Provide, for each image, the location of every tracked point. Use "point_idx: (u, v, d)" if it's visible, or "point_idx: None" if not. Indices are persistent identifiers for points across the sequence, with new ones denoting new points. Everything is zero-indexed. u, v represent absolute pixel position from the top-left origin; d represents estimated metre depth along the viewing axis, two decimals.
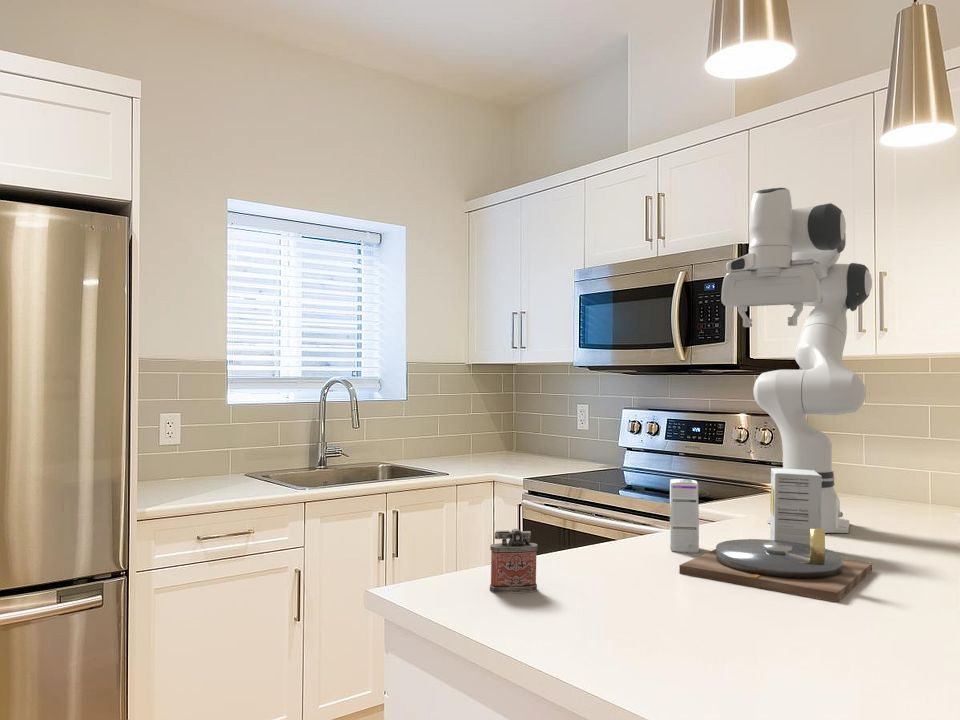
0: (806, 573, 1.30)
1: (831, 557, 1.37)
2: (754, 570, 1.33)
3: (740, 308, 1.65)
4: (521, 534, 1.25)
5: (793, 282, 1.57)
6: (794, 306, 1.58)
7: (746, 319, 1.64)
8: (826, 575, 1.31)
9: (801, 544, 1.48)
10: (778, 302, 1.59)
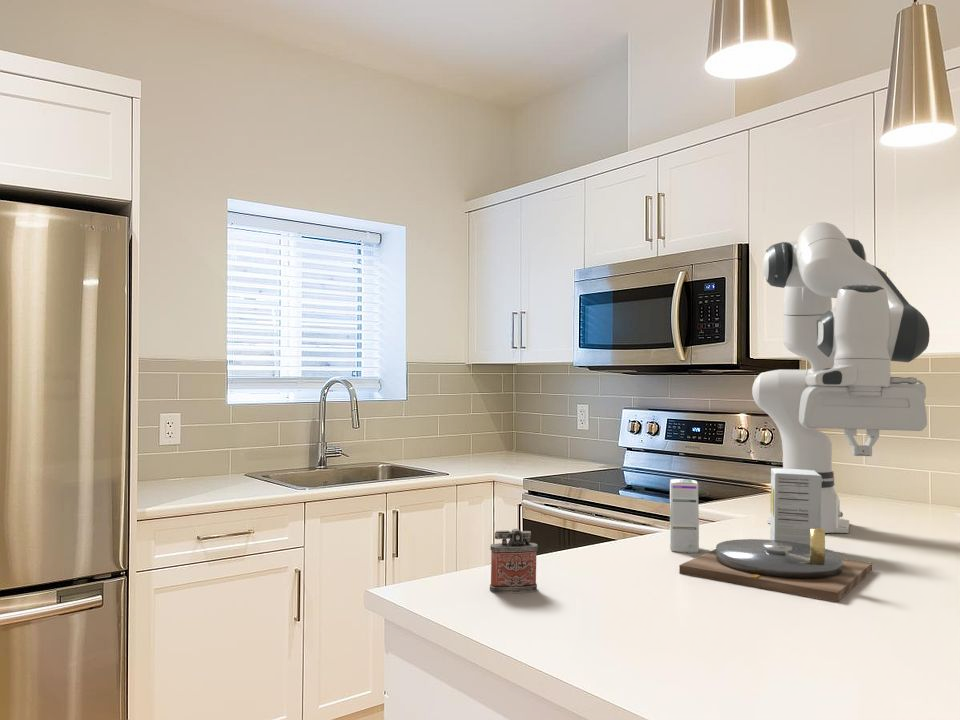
0: (806, 573, 1.30)
1: (831, 557, 1.37)
2: (754, 570, 1.33)
3: (850, 432, 1.30)
4: (521, 534, 1.25)
5: (897, 405, 1.29)
6: (872, 433, 1.30)
7: (859, 447, 1.30)
8: (826, 575, 1.31)
9: (801, 544, 1.48)
10: (879, 428, 1.29)
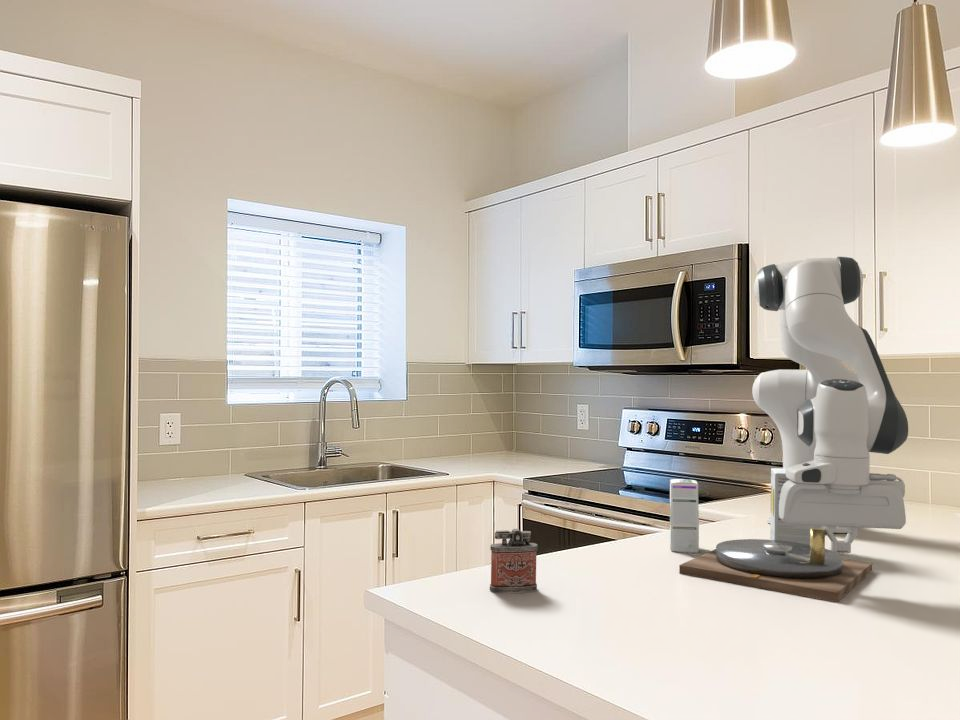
0: (806, 573, 1.30)
1: (831, 557, 1.37)
2: (754, 570, 1.33)
3: (830, 529, 1.30)
4: (521, 534, 1.25)
5: (876, 502, 1.29)
6: (850, 530, 1.30)
7: (838, 544, 1.30)
8: (826, 575, 1.31)
9: (801, 544, 1.48)
10: (858, 525, 1.29)
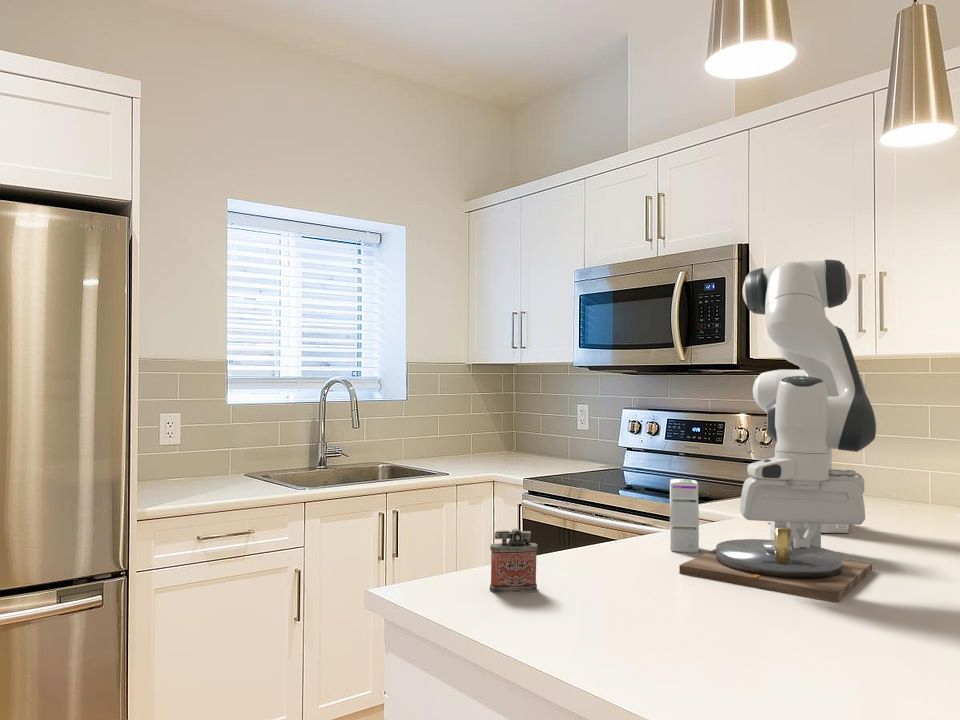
0: (762, 570, 1.32)
1: (818, 562, 1.33)
2: (723, 561, 1.39)
3: (793, 525, 1.31)
4: (521, 534, 1.25)
5: (836, 498, 1.29)
6: (809, 526, 1.30)
7: (801, 540, 1.30)
8: (786, 575, 1.30)
9: (829, 551, 1.42)
10: (818, 521, 1.29)
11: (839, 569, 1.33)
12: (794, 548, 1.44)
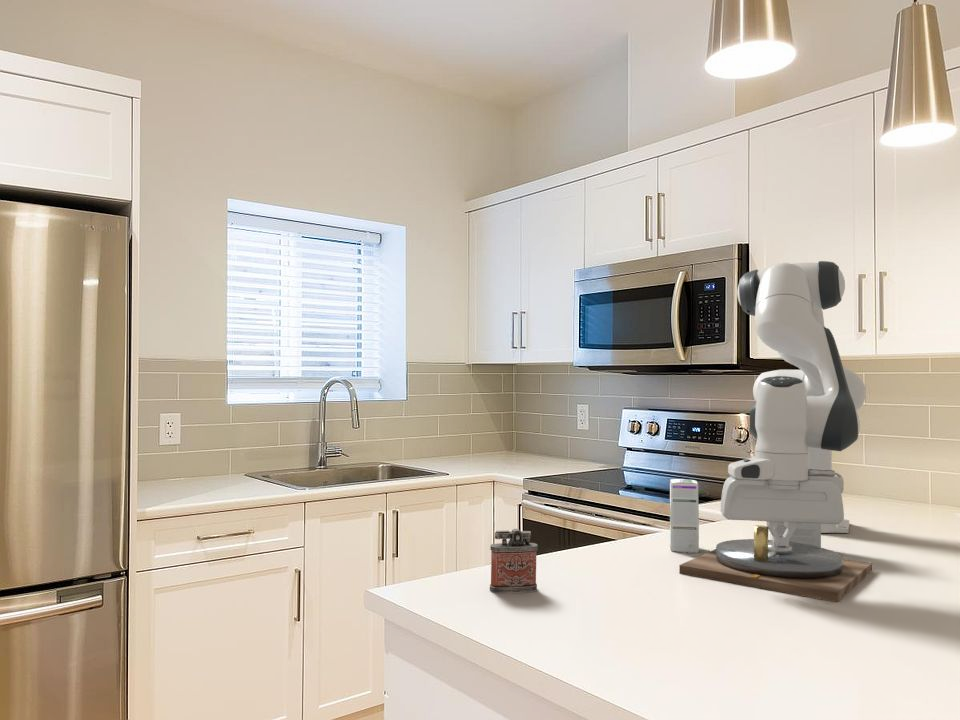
0: (740, 565, 1.35)
1: (801, 563, 1.32)
2: (716, 556, 1.43)
3: (772, 524, 1.32)
4: (521, 534, 1.25)
5: (815, 498, 1.30)
6: (788, 526, 1.31)
7: (780, 539, 1.32)
8: (761, 572, 1.32)
9: (836, 556, 1.38)
10: (797, 521, 1.30)
11: (827, 572, 1.31)
12: (802, 550, 1.42)
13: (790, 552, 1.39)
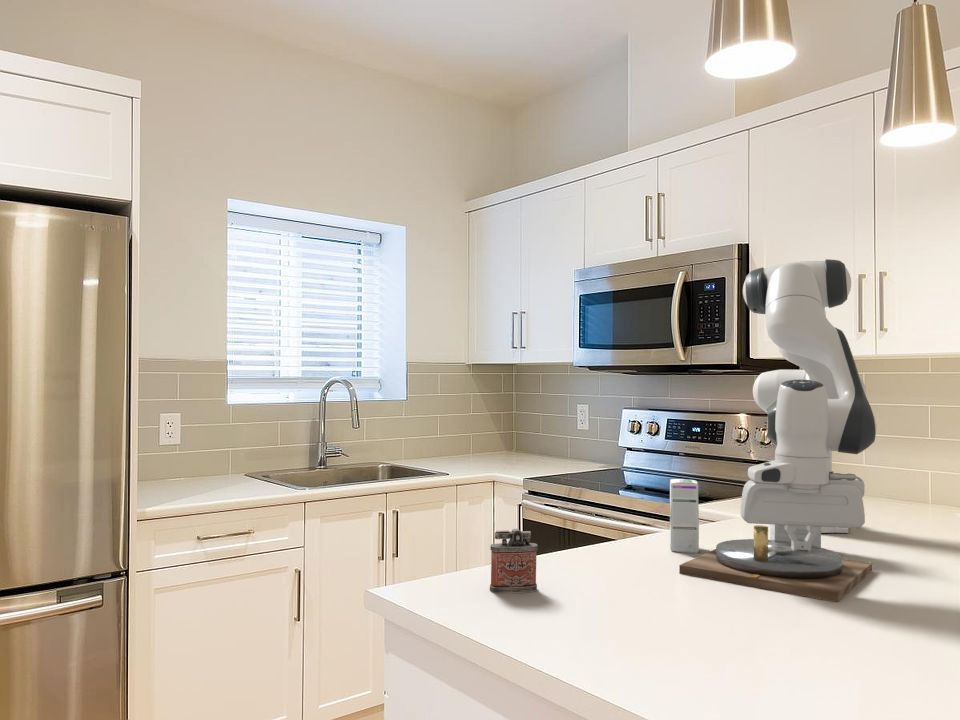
0: (739, 565, 1.35)
1: (801, 563, 1.32)
2: (716, 556, 1.43)
3: (790, 528, 1.32)
4: (521, 534, 1.25)
5: (836, 502, 1.30)
6: (811, 529, 1.31)
7: (798, 542, 1.32)
8: (761, 572, 1.32)
9: (836, 556, 1.38)
10: (817, 525, 1.30)
11: (827, 572, 1.31)
12: None
13: (790, 552, 1.39)
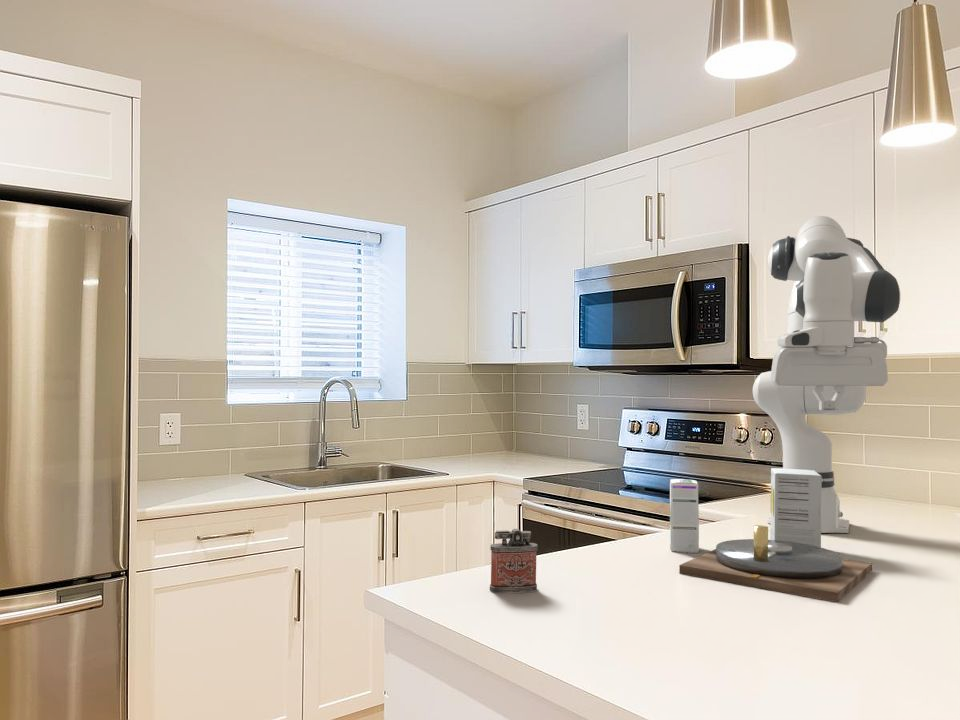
0: (739, 565, 1.35)
1: (801, 563, 1.32)
2: (716, 556, 1.43)
3: (818, 389, 1.42)
4: (521, 534, 1.25)
5: (861, 362, 1.40)
6: (837, 389, 1.41)
7: (826, 402, 1.42)
8: (761, 572, 1.32)
9: (836, 556, 1.38)
10: (843, 384, 1.41)
11: (827, 572, 1.31)
12: (802, 550, 1.42)
13: (790, 552, 1.39)
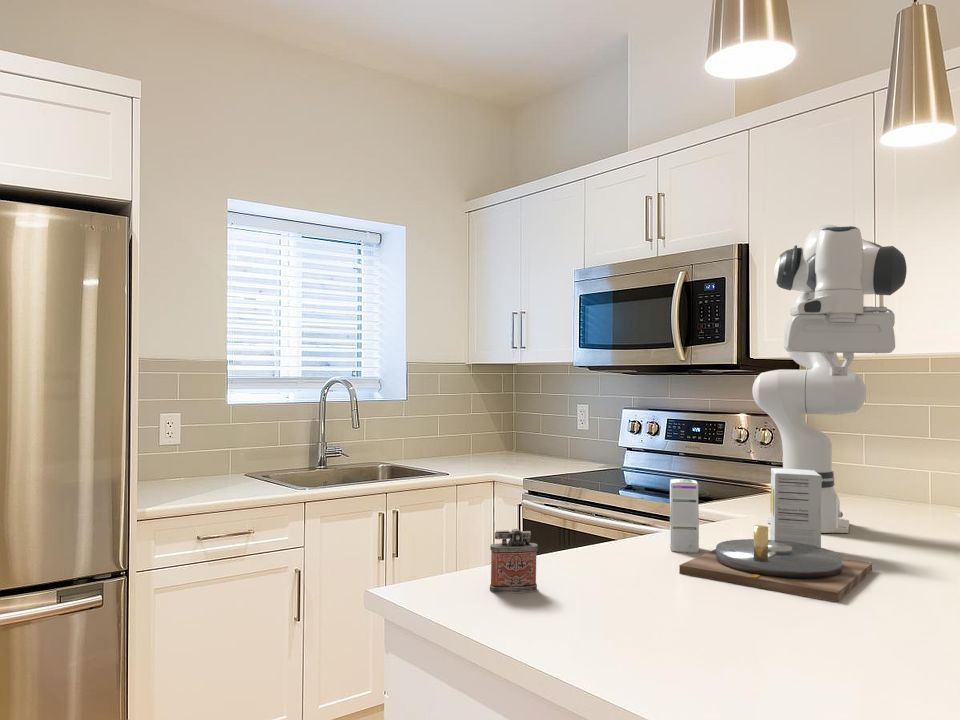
0: (739, 565, 1.35)
1: (801, 563, 1.32)
2: (716, 556, 1.43)
3: (829, 355, 1.49)
4: (521, 534, 1.25)
5: (870, 330, 1.47)
6: (847, 355, 1.48)
7: (836, 368, 1.49)
8: (761, 572, 1.32)
9: (836, 556, 1.38)
10: (853, 350, 1.47)
11: (827, 572, 1.31)
12: (802, 550, 1.42)
13: (790, 552, 1.39)
